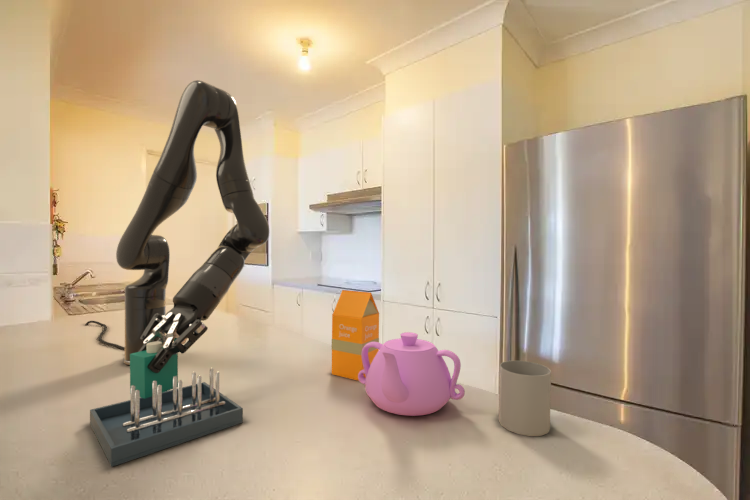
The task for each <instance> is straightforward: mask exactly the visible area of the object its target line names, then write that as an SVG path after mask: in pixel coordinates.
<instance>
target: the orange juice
mask: <svg viewBox="0 0 750 500" xmlns="http://www.w3.org/2000/svg"><path fill="white" fill-rule="evenodd" d="M370 342H379V343H380V311H379V309H378V306H377V304H376V302H375V299H374V296H373V294H372V292H368V291H359V290H348V289H342V290H341V293H340V295H339V297H338V300H337V302H336V305H335V307H334V309H333V312H332V313H331V375H334V376H337V377H342V378H346V379H349V380H355V381H358V382H360V381H359V380H358V374H359V372H360V371H361V370H364V367H363V363H362V356H361V353H362V349H363V347H364V346H365V345H366V344H368V343H370ZM378 351H379V349H377V348H374V347H370V348H369V349H368V358H369V363H370V365H371V363H372V361H373V359H374V357H375V356H376V354H377V352H378ZM363 376H364V377H365V378H366V375H365V374H363Z"/></svg>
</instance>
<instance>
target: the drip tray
mask: <svg viewBox="0 0 750 500" xmlns="http://www.w3.org/2000/svg"><path fill="white" fill-rule="evenodd" d="M213 398H216V388H214V387H213ZM208 399H210V384H208V383H207V382H205V381H203V382H201V401H205V400H208ZM222 401H224V402H225V405H223V406H220V407H219V414H217V415H215V410H216V408H213V416H210V410H207V411H203V412H201V420H198V421H197V413H196V421H194V422H192V415H190V416H186V417H183V418H182V425H181V426H178V419H177V427H175V428H173V421H169V422H166V423H162V432H159V433H155V434H153V433H152V427H149V428H145V429H142V430H140V438H139V439H136V440H133V441H131V433H127V429H128V428H131V426H128V427H123V423H125V422H128V421H131V399H128V400H125V401H121V402H116V403H112V404H108V405H104V406H100V407H95V408H92V409H89V425H90V427H91V429H92V432H93V434H94V435H95V438H96V440H97V442H98V443H99V445H100V447H101V449H102V451H103V453H104V455H105V457H106V459H107V460H108V463H109V465H110V466H111V468H112V467H116V466H118V465H122V464H125V463H128V462H131V461H133V460H137V459H140V458H142V457H145V456H148V455H151V454H155V453H157V452H160V451H163V450H166V449H169V448H171V447H174V446H178V445H180V444H183V443H186V442H187V443H188V442H190V441H193V440H195V439H198V438H202V437H205V436H208V435H210V434H213V433H216V432H219V431H223V430H225V429H228V428H231V427H235V426H236V425H237V426H238V425H240V424H242V423H243V422H244V409H243V407H242V406H241V405H240V404H238V403H236V402H234V401H233V400H232V399H230V398H229V397H227V396H226V395H225V394H223V393H222V392H221V391H219V402H222ZM196 403H197V383H196ZM215 403H216V402H213V404H215ZM190 404H192V384H191V385H186V386H182V407H183V406H187V405H190ZM152 405H153V396H151V397H148V398H146V399H144V398H141V397H140V418H143V417H147V416H150V415H152ZM208 405H210V403H209V404H206V405H202V406H201V407H205V406H208ZM177 408H178V388H177ZM172 409H173V389H171V390H168V391H165V392H163V393H162V412H165V411H168V410H172ZM196 409H197V407H196ZM191 410H192V409H188V410H185V411H182V413H184V412H187V411H191ZM177 414H178V413H177ZM170 416H173V414H170V415H167V416H163V417H162V419H163V418H166V417H170ZM149 422H152V420H149V421H146V422H142V423H140V425H142V424H145V423H149Z"/></svg>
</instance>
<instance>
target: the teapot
mask: <svg viewBox="0 0 750 500" xmlns="http://www.w3.org/2000/svg"><path fill="white" fill-rule="evenodd" d="M399 334H400V338H393V339H388V340H386V341H385V342H384V343H381V342H380V341H379V342H370V343H368V344H366V345H365V346H364V347H363V349H362V353H361V356H362V363H363V367H364V370H361V371H360V372H359V374H358V380H359V381H358V380H357V381H358V382H359V383H360V384H362V385H365V387H364V388H365V393H366V395H367V396H368V398H369V399H370V400H371V401H372V402H373V403H374V405H375V406H376V407H377V408H379V409H380V410H382V411H385V412H387V413H390V414H395V415H400V416H412V417H413V416H414V417H415V416H424V415H430V414H434V413H435V412H438V411H440V410H441V409H442V408H443V407H444V406H446V404H447V403H448V402H449V401H450V399H452V400H455V401H457V400H461V399H463V398H464V397H465V392H466V391H465V388H464V386H463V385H462V384H458V380H459V376H460V372H461V367H462V364H461V360H460V357H459V356H458V355H457V354H456V353H455V352H454V351H451V350H449V349H441V350H439V349H438V348H437V346H436V345H435V344H434V343H432V341H428V340H425V339H420V338H418V337H419V334H418V333H416V332H411V331H407V332H406V331H405V332H402V333H399ZM370 347H374V348H377V349H379V351H378V352H377V354H376V356H375V357H374V359H373V361H372V363H371V365H370V363H369V358H368V349H369V348H370ZM444 357H448V358H450V359H451V360H452V361H453V365H454V368H453V373H452V377H451V372H450V370H449V367H448V365H447V363H446V362H445V361H446V360H444ZM363 374H365V375H366V378H365V377H364V376H363ZM456 390H458V393H457V392H456Z"/></svg>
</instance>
